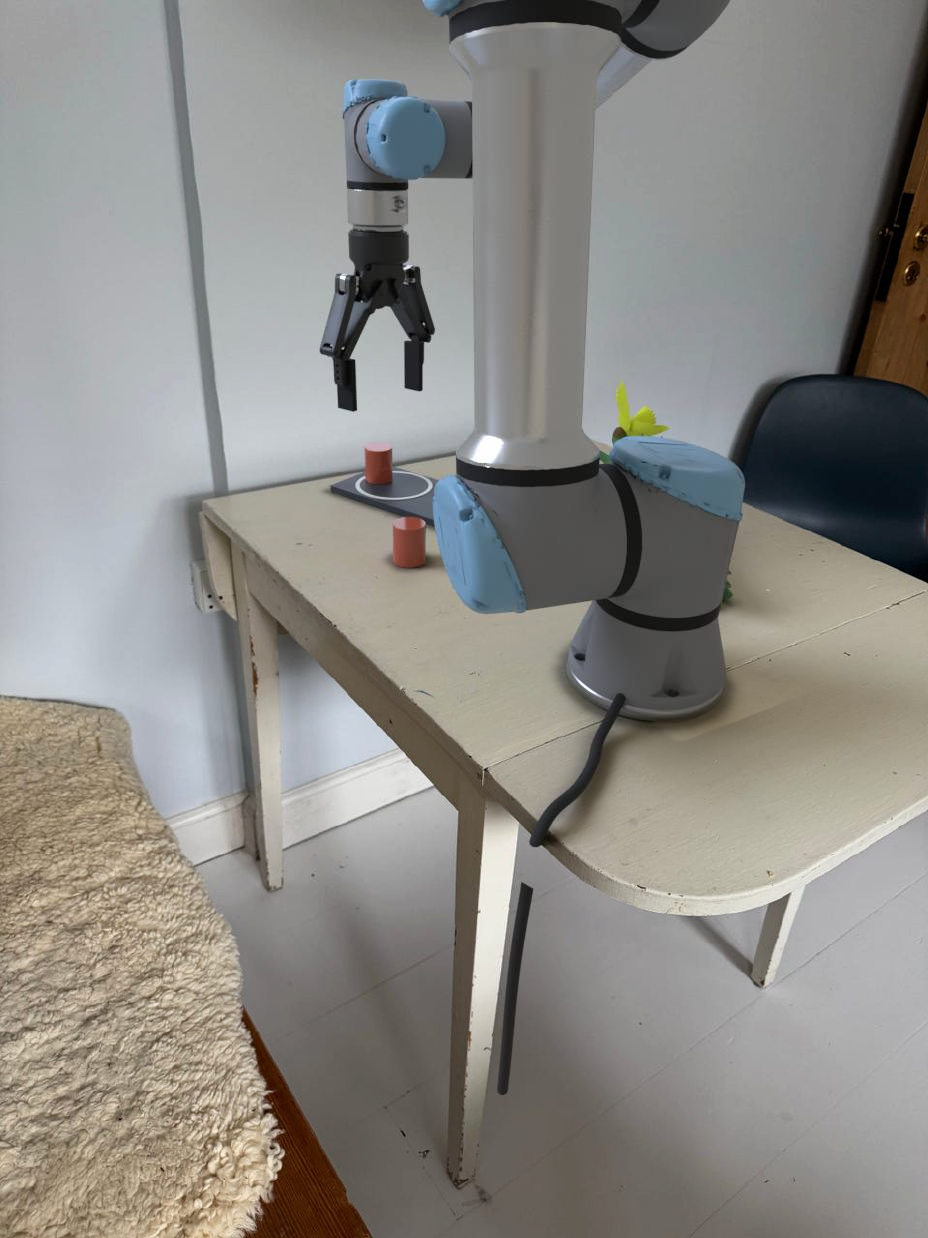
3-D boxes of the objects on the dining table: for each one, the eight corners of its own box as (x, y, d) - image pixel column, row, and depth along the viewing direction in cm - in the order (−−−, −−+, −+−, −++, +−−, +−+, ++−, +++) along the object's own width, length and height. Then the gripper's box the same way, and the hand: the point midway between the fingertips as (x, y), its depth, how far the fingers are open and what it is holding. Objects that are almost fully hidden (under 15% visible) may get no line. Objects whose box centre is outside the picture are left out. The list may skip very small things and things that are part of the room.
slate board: (463, 536, 110) (464, 528, 109) (330, 491, 122) (330, 484, 121) (513, 509, 118) (514, 501, 118) (384, 469, 130) (384, 462, 130)
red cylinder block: (411, 571, 101) (411, 533, 98) (386, 561, 103) (385, 524, 100) (432, 559, 104) (432, 522, 101) (407, 550, 106) (407, 513, 103)
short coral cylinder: (380, 486, 121) (379, 453, 119) (359, 479, 123) (358, 447, 121) (398, 479, 124) (397, 446, 122) (377, 472, 126) (377, 440, 123)
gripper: (329, 236, 93) (338, 424, 104) (462, 224, 111) (458, 386, 121) (282, 230, 97) (295, 412, 107) (418, 220, 115) (418, 377, 125)
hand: (381, 399), depth 114 cm, fingers open, 13 cm apart
